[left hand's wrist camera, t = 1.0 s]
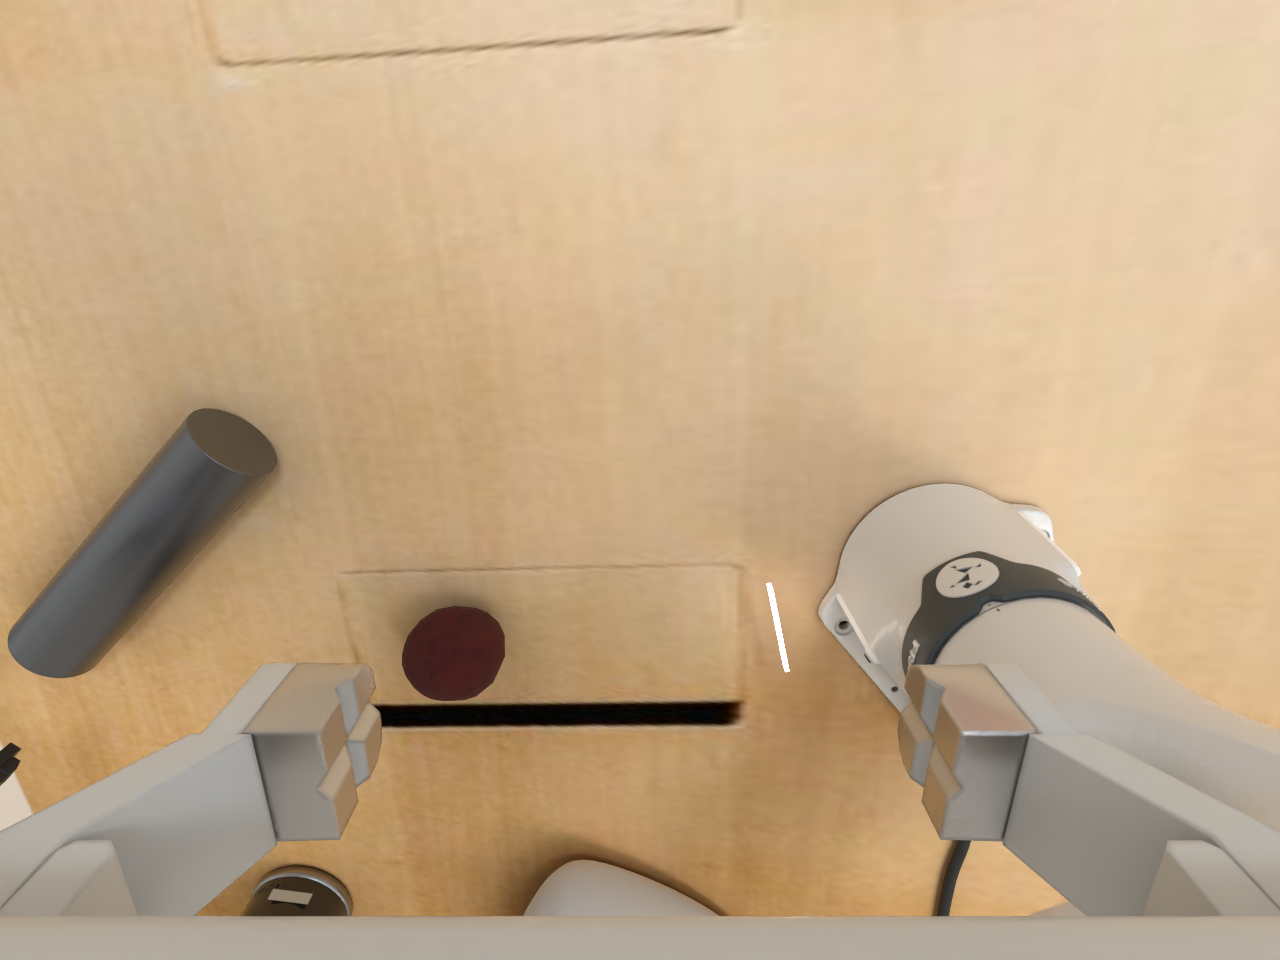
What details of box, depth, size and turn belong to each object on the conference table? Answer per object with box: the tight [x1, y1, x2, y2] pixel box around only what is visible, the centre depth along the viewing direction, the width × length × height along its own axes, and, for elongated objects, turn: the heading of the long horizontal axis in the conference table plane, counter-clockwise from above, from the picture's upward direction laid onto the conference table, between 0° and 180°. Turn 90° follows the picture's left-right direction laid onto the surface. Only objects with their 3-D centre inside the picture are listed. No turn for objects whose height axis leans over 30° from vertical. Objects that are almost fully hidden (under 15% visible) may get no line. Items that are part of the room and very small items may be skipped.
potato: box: [402, 606, 505, 701], centre depth 53 cm, size 7×8×7 cm
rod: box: [8, 409, 277, 678], centre depth 51 cm, size 24×6×6 cm, turn 134°
